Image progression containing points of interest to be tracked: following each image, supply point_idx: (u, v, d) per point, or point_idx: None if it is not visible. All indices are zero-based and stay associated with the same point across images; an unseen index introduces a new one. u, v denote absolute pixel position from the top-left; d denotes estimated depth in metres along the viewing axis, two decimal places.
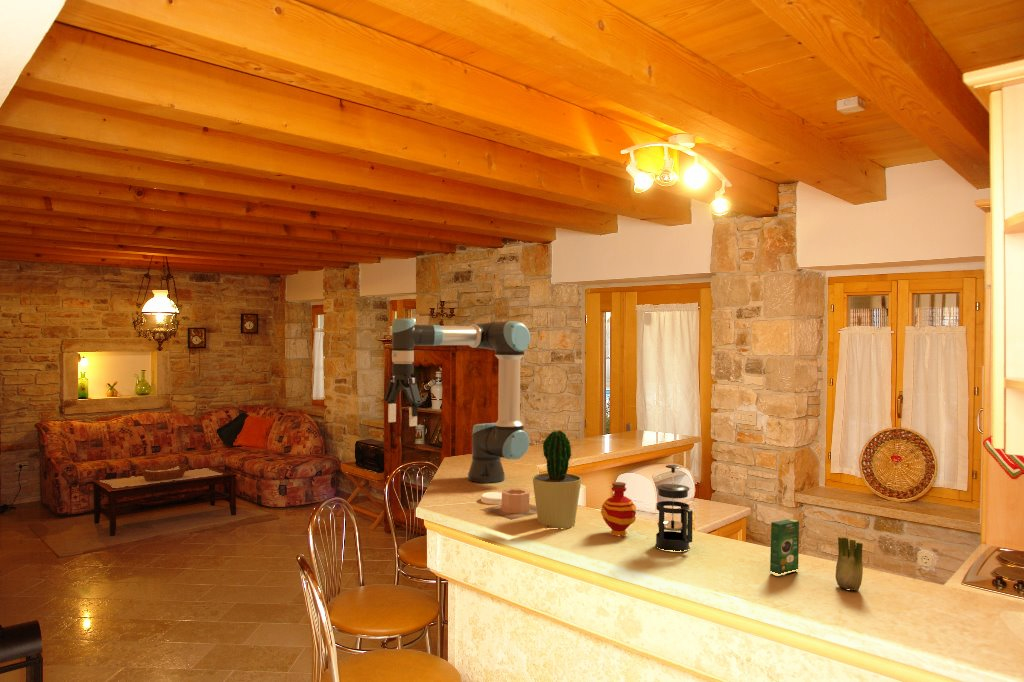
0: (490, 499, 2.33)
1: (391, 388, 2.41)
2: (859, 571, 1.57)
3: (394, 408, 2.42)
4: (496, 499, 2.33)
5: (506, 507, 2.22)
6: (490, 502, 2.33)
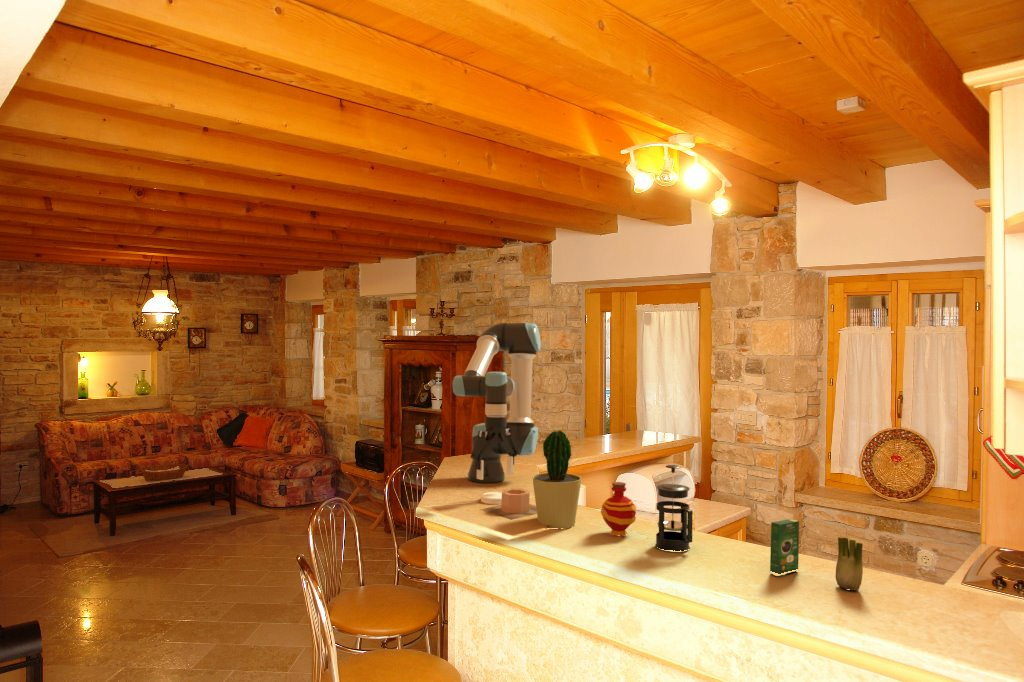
0: (490, 499, 2.33)
1: (509, 440, 2.42)
2: (859, 571, 1.57)
3: (510, 461, 2.41)
4: (496, 499, 2.33)
5: (506, 507, 2.22)
6: (490, 502, 2.33)
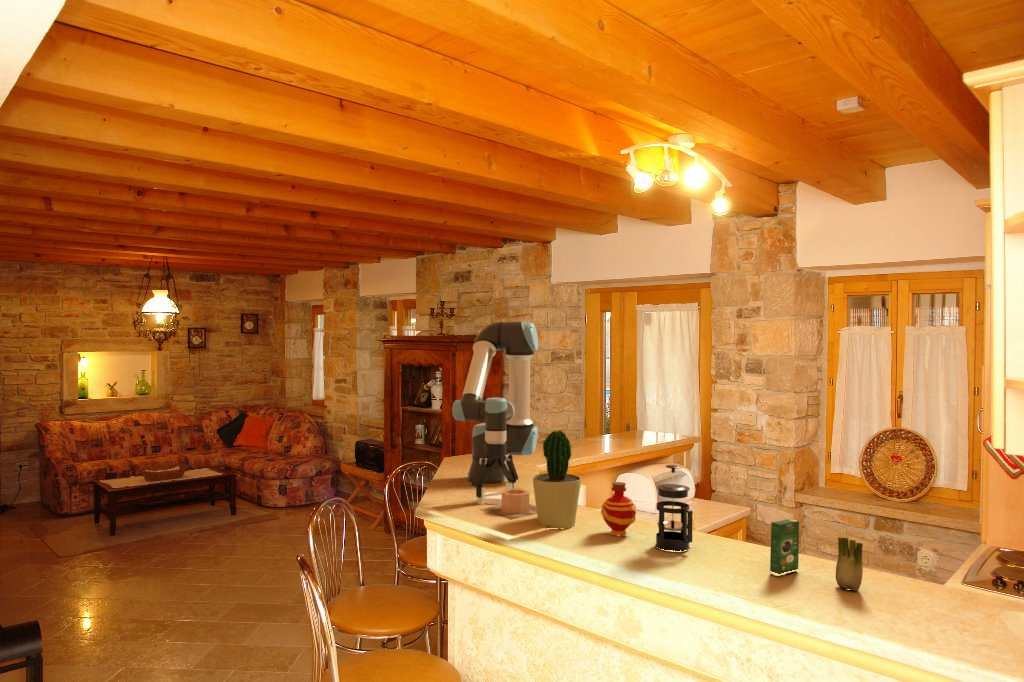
0: (490, 499, 2.33)
1: (509, 466, 2.42)
2: (859, 571, 1.57)
3: (509, 487, 2.41)
4: (496, 499, 2.33)
5: (506, 507, 2.22)
6: (490, 502, 2.33)
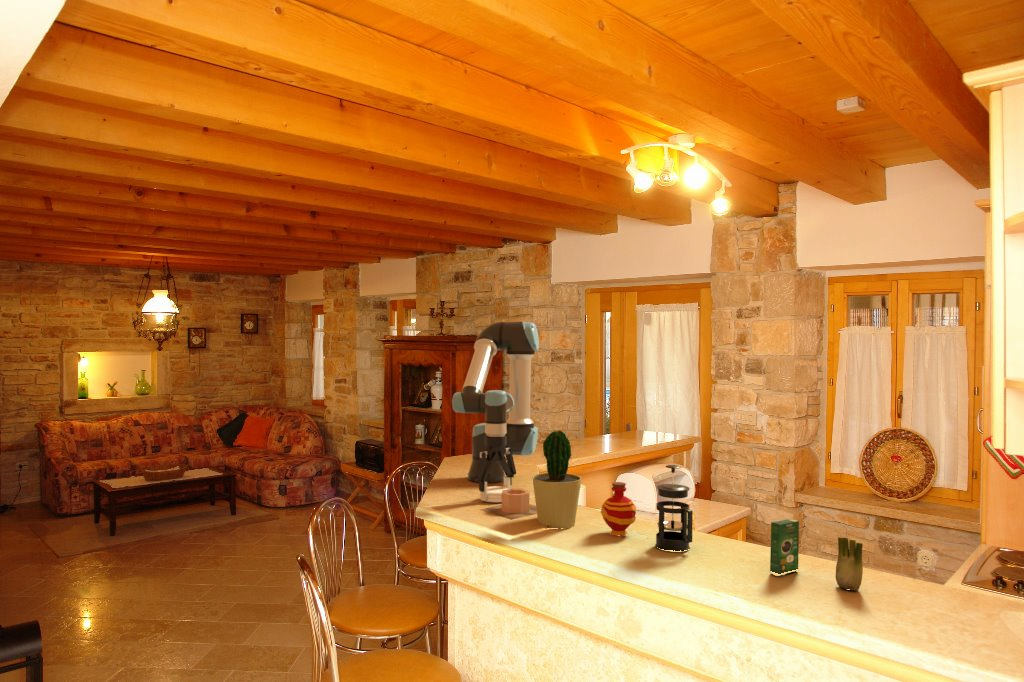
0: (490, 494, 2.34)
1: (508, 460, 2.42)
2: (859, 571, 1.57)
3: (507, 482, 2.41)
4: (496, 493, 2.34)
5: (506, 507, 2.22)
6: (490, 496, 2.34)
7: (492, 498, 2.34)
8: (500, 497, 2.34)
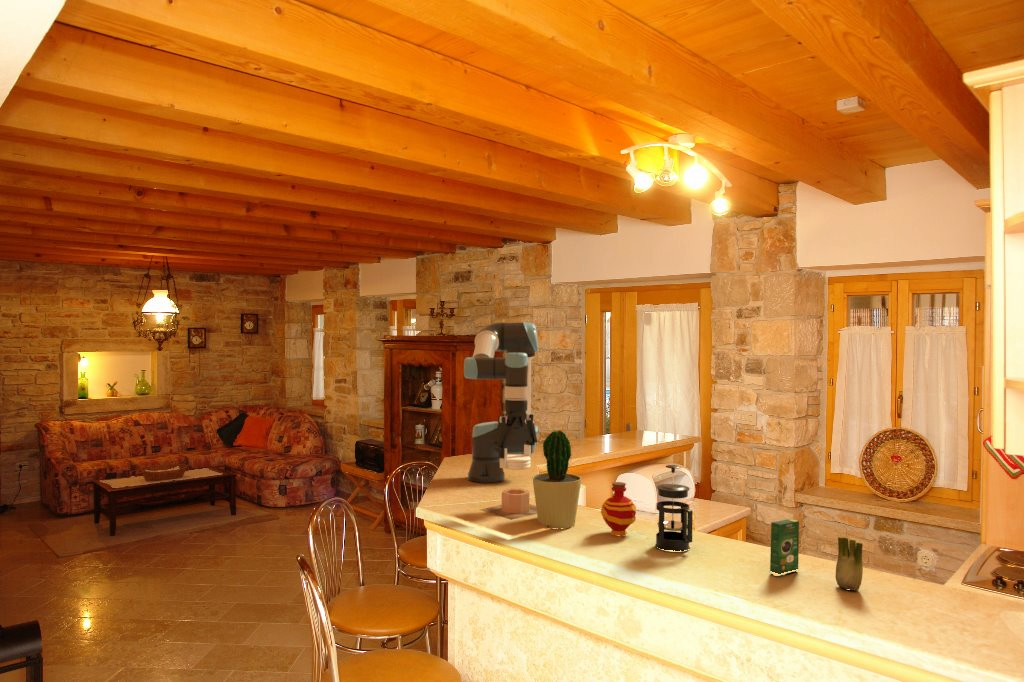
0: (510, 460, 2.21)
1: (528, 427, 2.30)
2: (859, 571, 1.57)
3: (528, 450, 2.28)
4: (517, 460, 2.21)
5: (506, 507, 2.22)
6: (510, 464, 2.21)
7: (512, 465, 2.21)
8: (521, 464, 2.21)
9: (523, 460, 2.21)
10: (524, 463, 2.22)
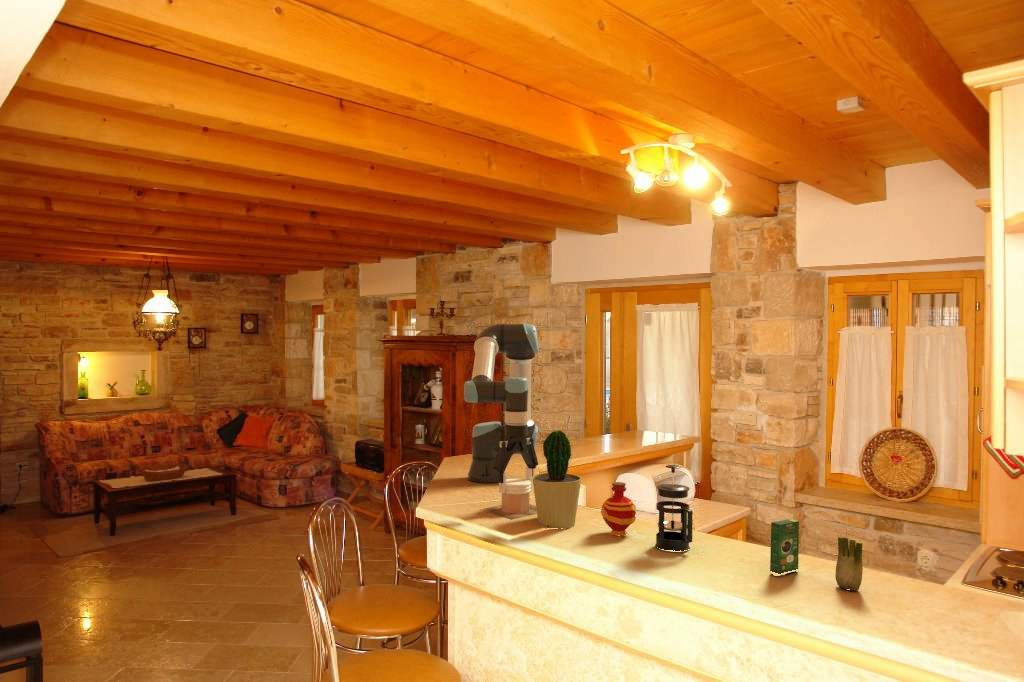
0: (511, 485, 2.21)
1: (529, 451, 2.30)
2: (859, 571, 1.57)
3: (529, 473, 2.28)
4: (517, 485, 2.21)
5: (506, 507, 2.22)
6: (511, 488, 2.21)
7: (512, 490, 2.21)
8: (521, 489, 2.21)
9: (523, 485, 2.21)
10: (524, 488, 2.22)
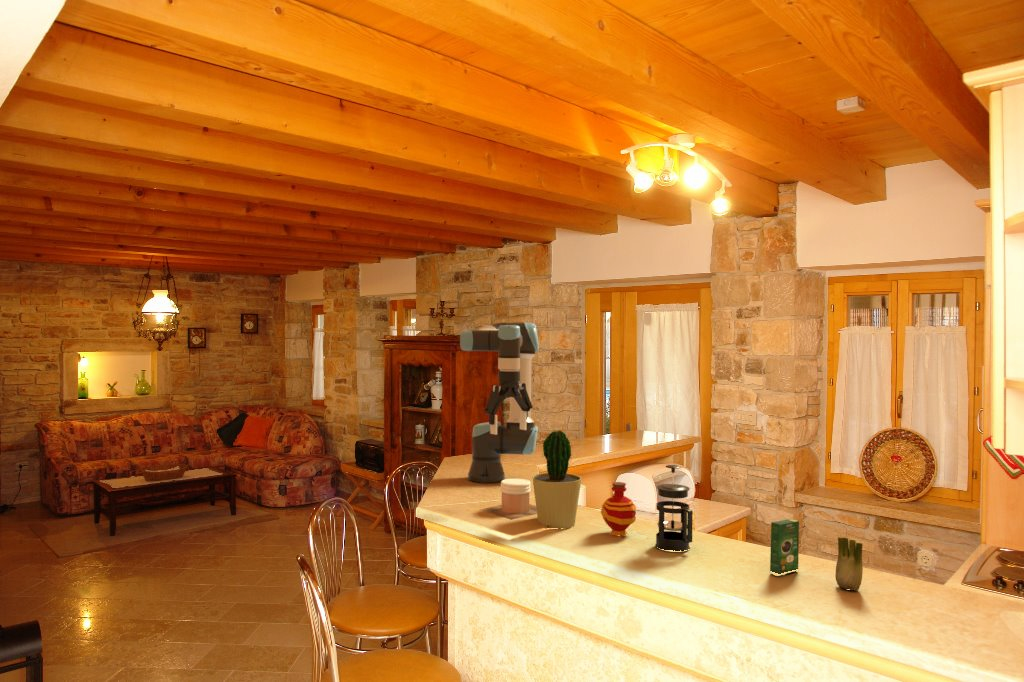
0: (511, 485, 2.21)
1: (522, 395, 2.38)
2: (859, 571, 1.57)
3: (523, 416, 2.37)
4: (517, 485, 2.21)
5: (506, 507, 2.22)
6: (511, 488, 2.21)
7: (512, 490, 2.21)
8: (521, 489, 2.21)
9: (523, 485, 2.21)
10: (524, 488, 2.22)
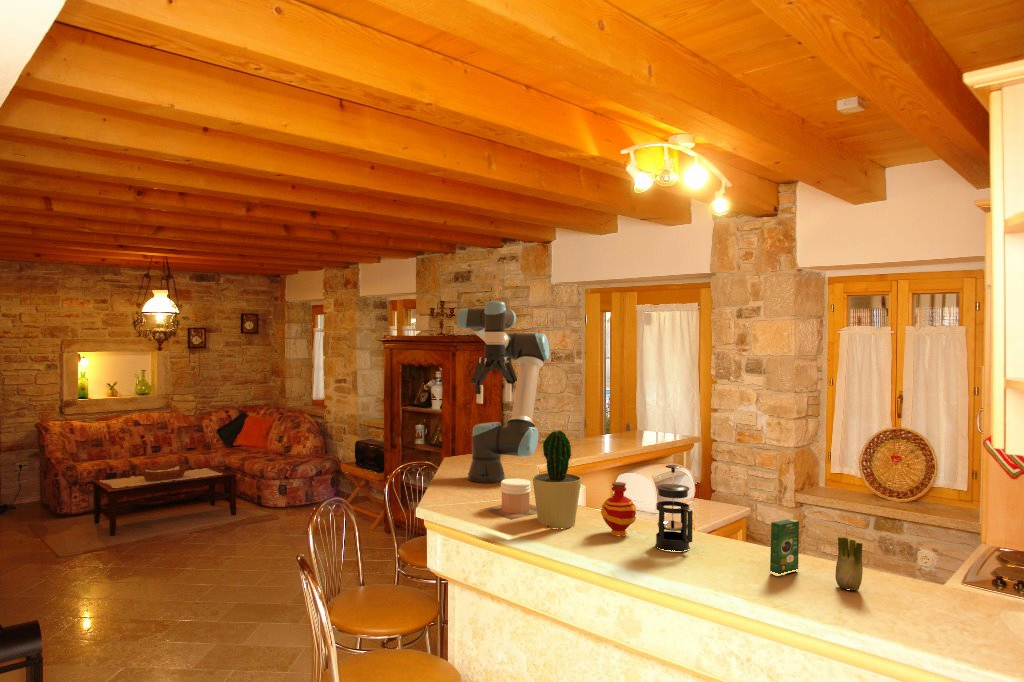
0: (511, 485, 2.21)
1: (508, 368, 2.52)
2: (859, 571, 1.57)
3: (508, 388, 2.51)
4: (517, 485, 2.21)
5: (506, 507, 2.22)
6: (511, 488, 2.21)
7: (512, 490, 2.21)
8: (521, 489, 2.21)
9: (523, 485, 2.21)
10: (524, 488, 2.22)
